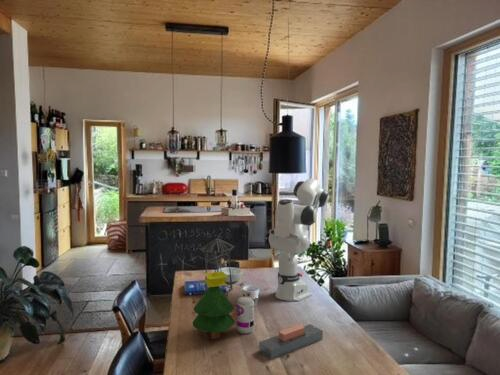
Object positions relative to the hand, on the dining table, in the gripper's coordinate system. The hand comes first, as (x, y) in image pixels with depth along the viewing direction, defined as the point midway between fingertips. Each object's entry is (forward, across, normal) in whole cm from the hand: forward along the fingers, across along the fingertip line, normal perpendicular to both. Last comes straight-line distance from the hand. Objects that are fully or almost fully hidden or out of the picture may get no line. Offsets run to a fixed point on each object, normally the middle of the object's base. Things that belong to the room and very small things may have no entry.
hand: (284, 259), depth 185 cm
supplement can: (+31, +1, +23) cm, 39 cm away
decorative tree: (+31, +5, +38) cm, 49 cm away
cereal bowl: (+31, +64, -8) cm, 72 cm away
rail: (+31, -22, +14) cm, 40 cm away
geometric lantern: (+31, +44, +13) cm, 55 cm away
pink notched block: (+31, -22, +14) cm, 40 cm away
